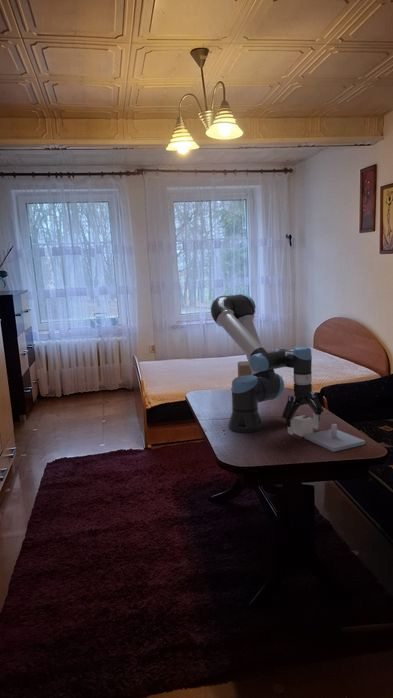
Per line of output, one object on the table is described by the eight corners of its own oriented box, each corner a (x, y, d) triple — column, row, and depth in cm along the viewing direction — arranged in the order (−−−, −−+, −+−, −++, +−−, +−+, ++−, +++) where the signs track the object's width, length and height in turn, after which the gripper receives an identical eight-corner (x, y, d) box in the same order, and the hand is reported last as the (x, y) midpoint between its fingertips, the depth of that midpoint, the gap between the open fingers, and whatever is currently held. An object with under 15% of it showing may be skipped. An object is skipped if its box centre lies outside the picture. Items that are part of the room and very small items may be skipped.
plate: (333, 451, 177) (333, 434, 176) (304, 438, 193) (304, 422, 192) (365, 444, 184) (365, 427, 183) (334, 431, 200) (334, 416, 199)
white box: (301, 436, 195) (301, 419, 194) (293, 432, 201) (292, 416, 200) (312, 434, 198) (312, 417, 197) (304, 430, 203) (304, 413, 202)
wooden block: (255, 393, 271) (254, 360, 268) (257, 398, 261) (257, 363, 258) (238, 394, 271) (237, 361, 268) (240, 399, 261) (239, 364, 258)
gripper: (283, 388, 187) (284, 438, 190) (331, 381, 198) (331, 428, 201) (273, 385, 194) (274, 433, 197) (320, 378, 204) (320, 424, 207)
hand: (303, 431), depth 199 cm, fingers open, 13 cm apart
